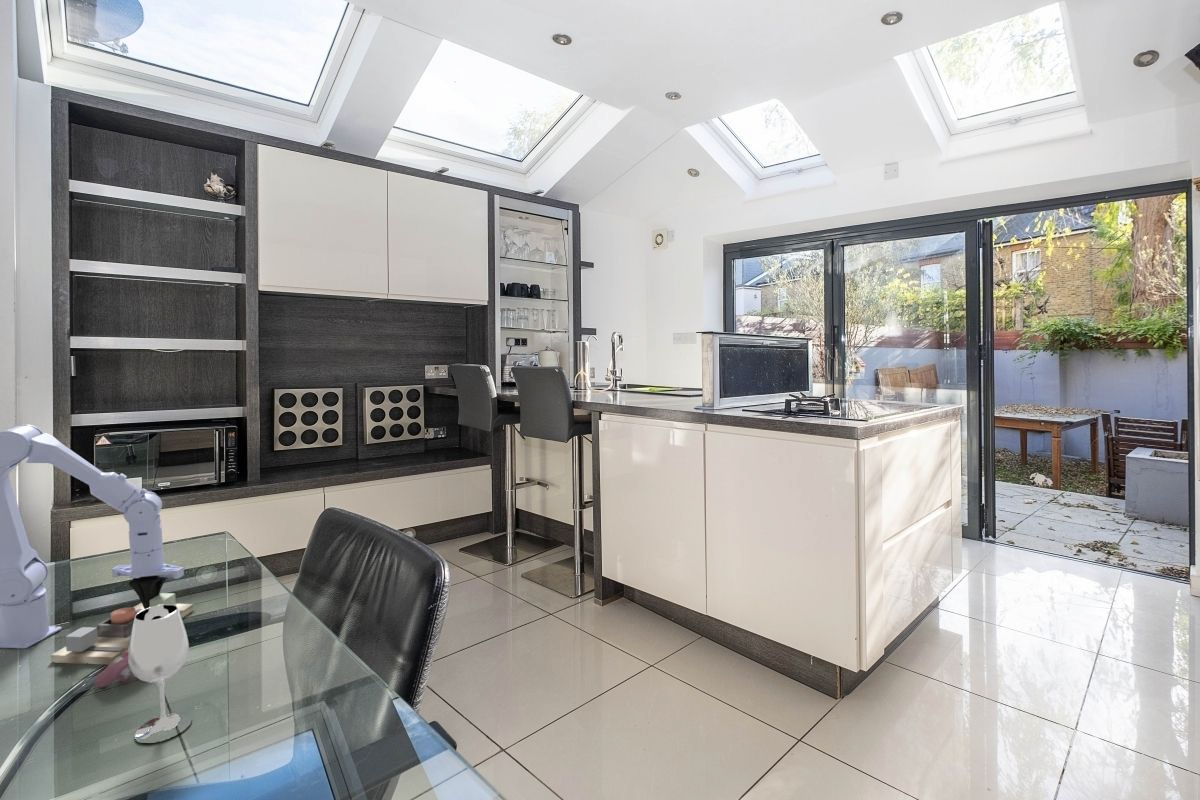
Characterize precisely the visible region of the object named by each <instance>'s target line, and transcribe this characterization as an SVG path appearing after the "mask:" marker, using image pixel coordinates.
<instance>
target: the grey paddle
mask: <svg viewBox="0 0 1200 800" xmlns="http://www.w3.org/2000/svg"><path fill="white" fill-rule="evenodd" d="M64 637H65V646H66V650H67V651H76V652H82V651H84V650H85V649H87V648H89V647H90V646H92V645H94V644H95V643H97V642H98V634H97V627H92V626H91V627H89V626H87V627H86V626H85V627H84V626H81V627H80V628H78V629H76V630H75V631H72V632H71V633H69V634H67V635H66V636H64Z"/></svg>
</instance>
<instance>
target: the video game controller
mask: <svg viewBox="0 0 1200 800" xmlns="http://www.w3.org/2000/svg"><path fill="white" fill-rule="evenodd" d="M132 676H133V674H132V673H131V671H130V669H129V665H128V650H127V651H126V652H125V653H124V654H122V655H121V656H120V657H117V658H116V659H115V660H114V661H113V662H111V663H110V664H107V666H106V667H105V668H104V669H103V670H102V671H101V672H99V673H98V674H97V675H96V676H95V677H94V681H93V682H94V686H95V687H97V688H105V687H107V686H110V685H111V684H112V683H114V682H115V681H121V682H122V683H124V682H126V681H128V680H129V679H130V678H131V677H132Z"/></svg>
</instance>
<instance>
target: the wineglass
mask: <svg viewBox="0 0 1200 800" xmlns="http://www.w3.org/2000/svg"><path fill="white" fill-rule="evenodd" d="M189 651H190V644H189V638H188V634H187V630H186V627H185V624H184V621H183V618H181V615H180V612H179V610H178V607H177V606H175V605H171V604H166V605H158V606H153V607H150V608H147V609H144V610H142V611H140V612H139V613H137V614H136V615H135V618H134V622H133V627H132V631H131V637H130V643H129V649H128V665H129V669H130V671H131V673H132V676H133V677H135V678H136V679H137V680H140V681H142V682H146V683H155V684H156V686H157V689H158V697H159V712H160V713H159V714H160V715H159V716H160V717H159V718H156V717H154V718H152V719H150V720H148V721H146V722H145V723H144V724H142V725H141V726H139V728H138V729H136V731H135V732H134V737H135V738H134V740H135V739H145V738H147V737H149V736H150V735H151V734H153V733H156V732H159V731H166V730H171V729H172V728H175V727H176V726H177V725H178V722H179V721H180V719H181V718H180V717H179V715H178V714H176V713H173V712H170V713H171V714H168V713H167V712H166V698H165V684H166V680H168V679H170V678H172V677H173V676H174V675H175V674H177V673H178V672H179V671H180V670H181V669H182V668H183V666H184V665H185V663H186V661H187V659H188V657H189V654H190V653H189ZM166 714H168V715H166Z"/></svg>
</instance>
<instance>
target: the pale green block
mask: <svg viewBox="0 0 1200 800" xmlns="http://www.w3.org/2000/svg"><path fill="white" fill-rule="evenodd" d="M149 601H150V607H153V606H158V605H166V604H171V605H175V606H176V604H177V603H176V593H168V592H165V593H164V592H160V593H159V595H158V596H156V597H154V598H153V599H151V600H149Z"/></svg>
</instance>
